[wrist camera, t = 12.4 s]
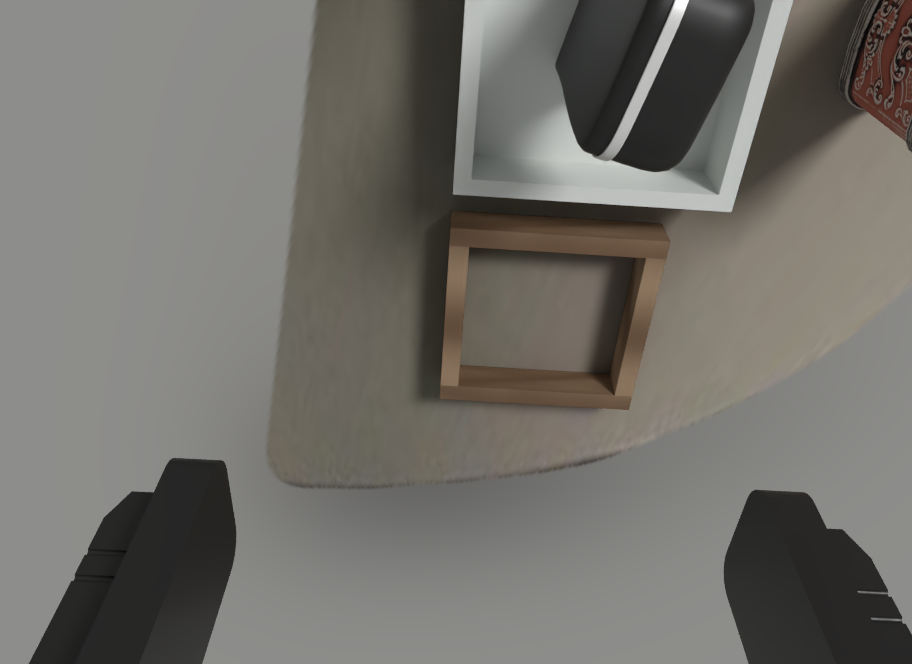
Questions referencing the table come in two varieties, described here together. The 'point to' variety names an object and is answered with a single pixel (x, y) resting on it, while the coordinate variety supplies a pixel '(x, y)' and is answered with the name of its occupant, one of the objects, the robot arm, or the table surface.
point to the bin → (548, 126)
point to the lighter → (882, 65)
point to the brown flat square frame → (560, 238)
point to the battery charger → (647, 74)
